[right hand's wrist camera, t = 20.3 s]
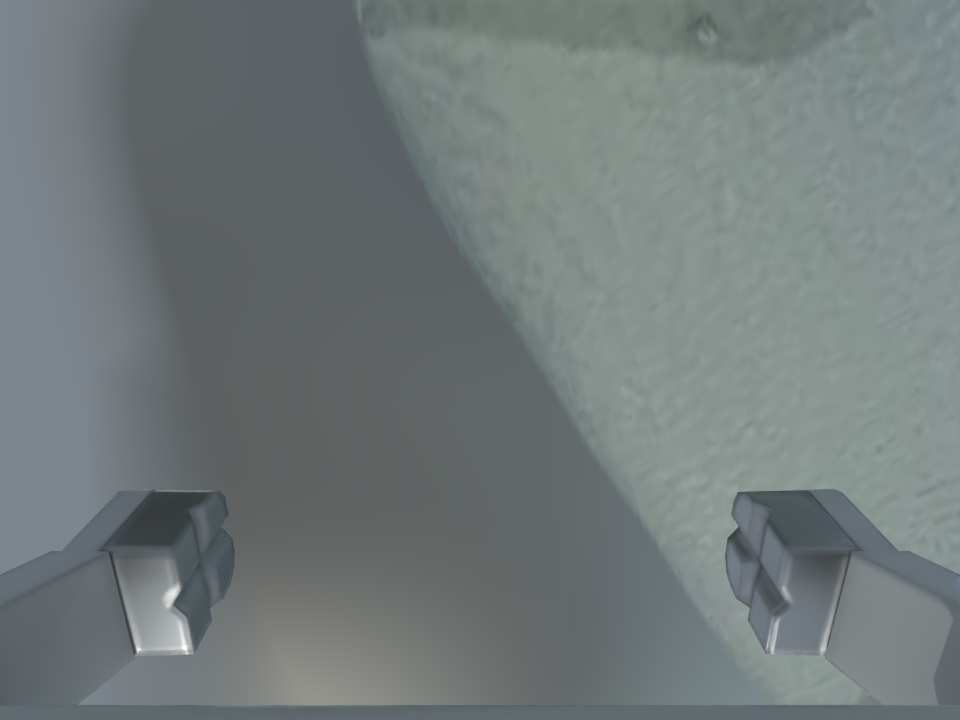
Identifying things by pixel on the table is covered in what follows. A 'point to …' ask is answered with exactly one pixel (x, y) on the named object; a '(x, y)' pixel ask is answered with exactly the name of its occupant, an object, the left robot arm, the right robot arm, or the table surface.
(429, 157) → the table surface
